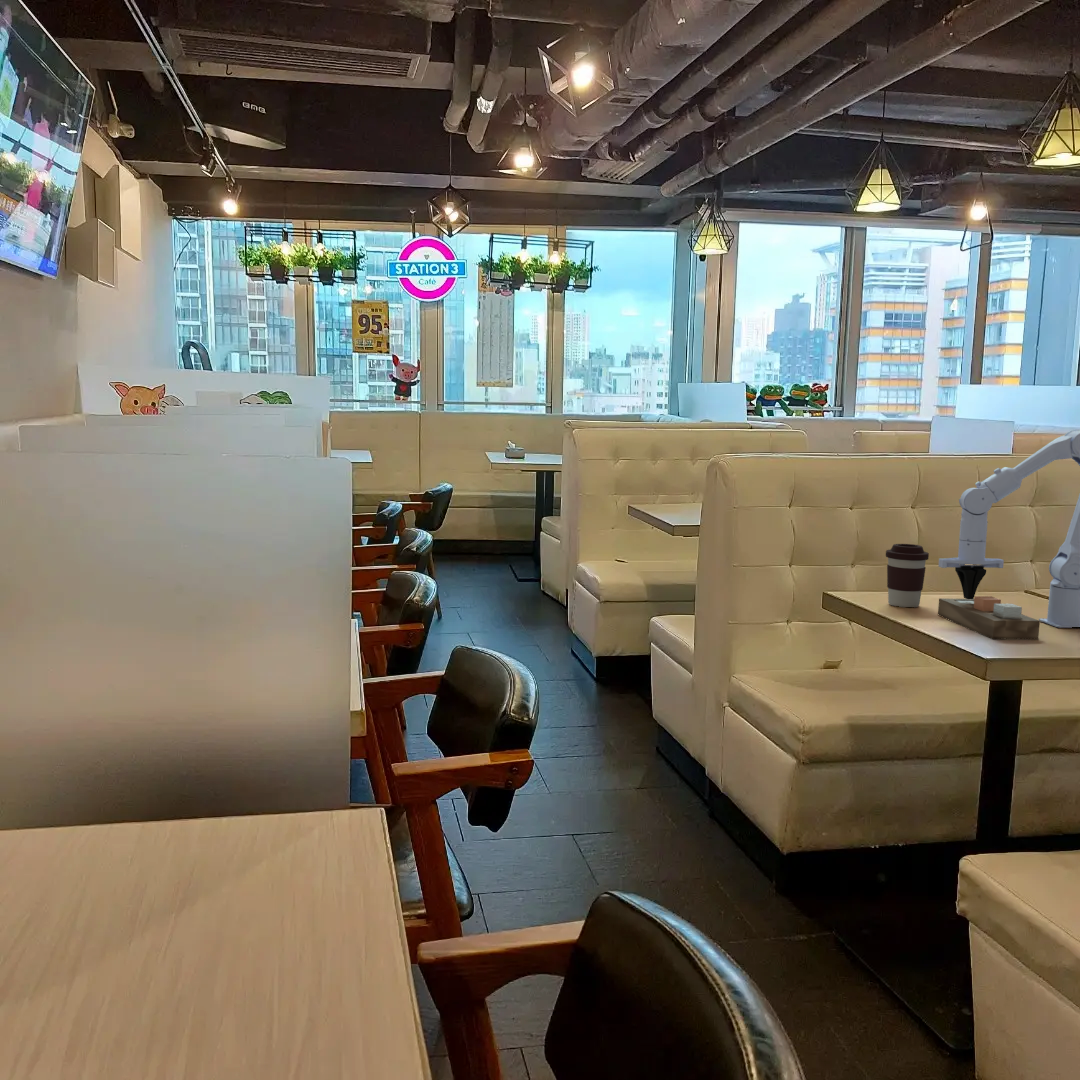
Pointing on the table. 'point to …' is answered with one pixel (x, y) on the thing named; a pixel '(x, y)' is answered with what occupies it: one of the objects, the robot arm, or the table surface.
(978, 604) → the orange square block
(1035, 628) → the block
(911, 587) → the coffee cup
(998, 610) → the pale grey square block
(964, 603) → the steel plunger
